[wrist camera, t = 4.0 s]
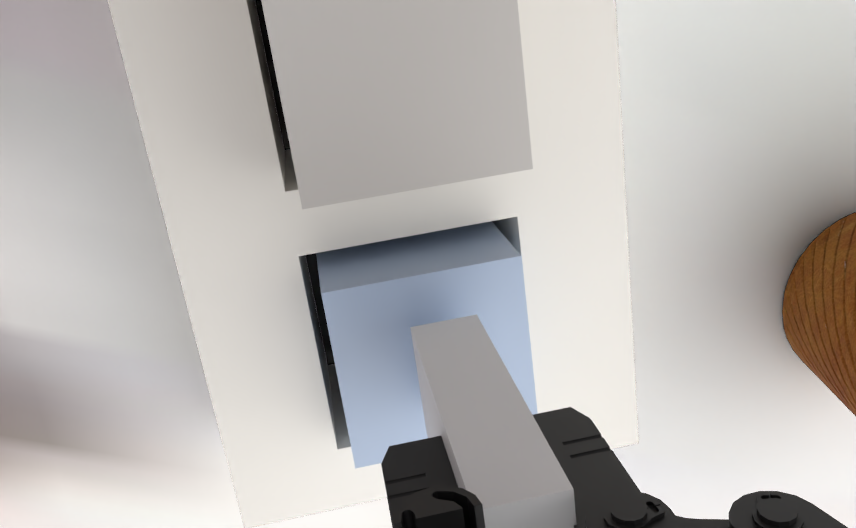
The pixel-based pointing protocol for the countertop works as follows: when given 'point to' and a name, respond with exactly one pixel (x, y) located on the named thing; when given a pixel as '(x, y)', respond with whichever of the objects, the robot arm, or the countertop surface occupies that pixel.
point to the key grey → (398, 93)
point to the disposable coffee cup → (826, 309)
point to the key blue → (416, 322)
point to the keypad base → (372, 237)
